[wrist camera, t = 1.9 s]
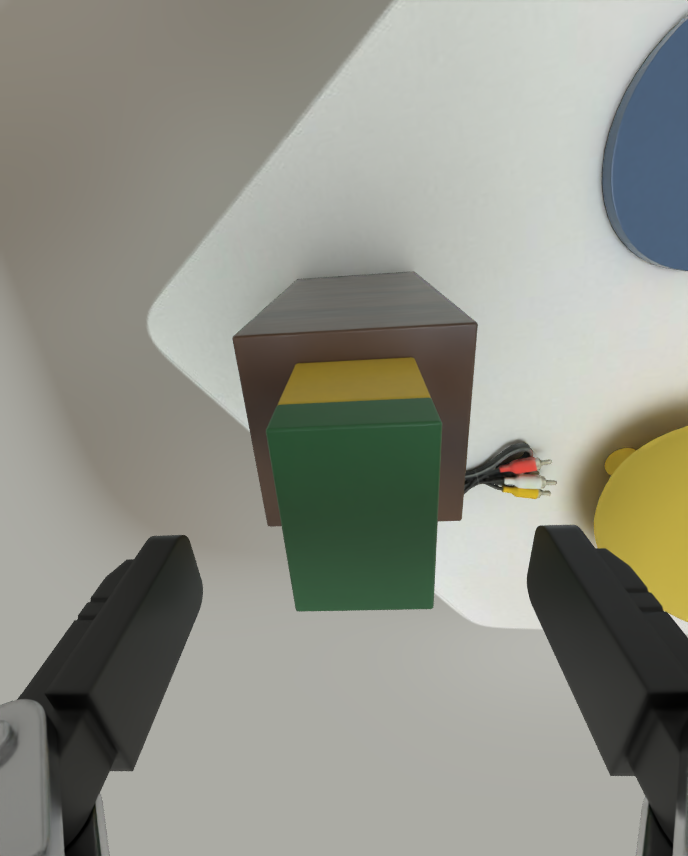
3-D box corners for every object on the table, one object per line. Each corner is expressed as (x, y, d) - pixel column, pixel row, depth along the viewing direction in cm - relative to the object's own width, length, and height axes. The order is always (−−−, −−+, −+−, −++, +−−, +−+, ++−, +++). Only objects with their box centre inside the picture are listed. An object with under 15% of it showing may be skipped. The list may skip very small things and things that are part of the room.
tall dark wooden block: (296, 278, 28) (231, 336, 13) (414, 271, 27) (478, 322, 13) (309, 388, 31) (267, 527, 17) (413, 383, 31) (462, 521, 16)
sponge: (294, 362, 14) (264, 429, 9) (414, 356, 13) (443, 422, 9) (312, 506, 16) (295, 612, 12) (412, 503, 16) (433, 610, 12)
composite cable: (429, 502, 36) (434, 520, 33) (421, 455, 33) (426, 472, 31) (545, 483, 34) (558, 501, 32) (545, 434, 32) (559, 450, 30)
